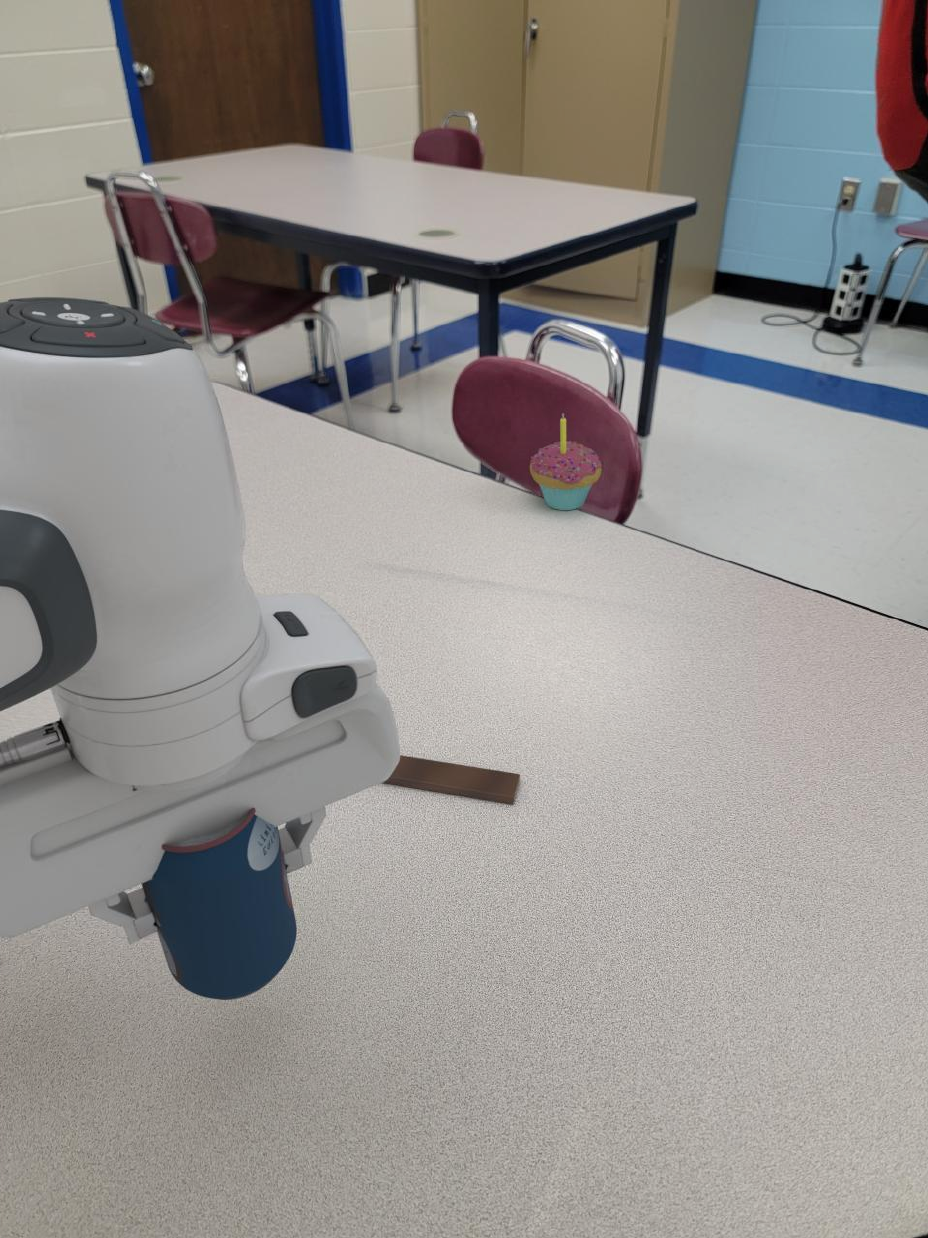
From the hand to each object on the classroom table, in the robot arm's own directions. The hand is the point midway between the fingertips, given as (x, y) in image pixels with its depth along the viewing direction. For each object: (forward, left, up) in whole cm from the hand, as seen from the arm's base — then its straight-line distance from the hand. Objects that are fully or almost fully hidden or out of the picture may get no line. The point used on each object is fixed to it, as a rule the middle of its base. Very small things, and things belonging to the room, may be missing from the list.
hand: (221, 893), depth 47 cm
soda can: (0, 0, -5) cm, 5 cm away
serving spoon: (+12, +20, -13) cm, 27 cm away
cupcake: (+55, +45, -14) cm, 73 cm away
